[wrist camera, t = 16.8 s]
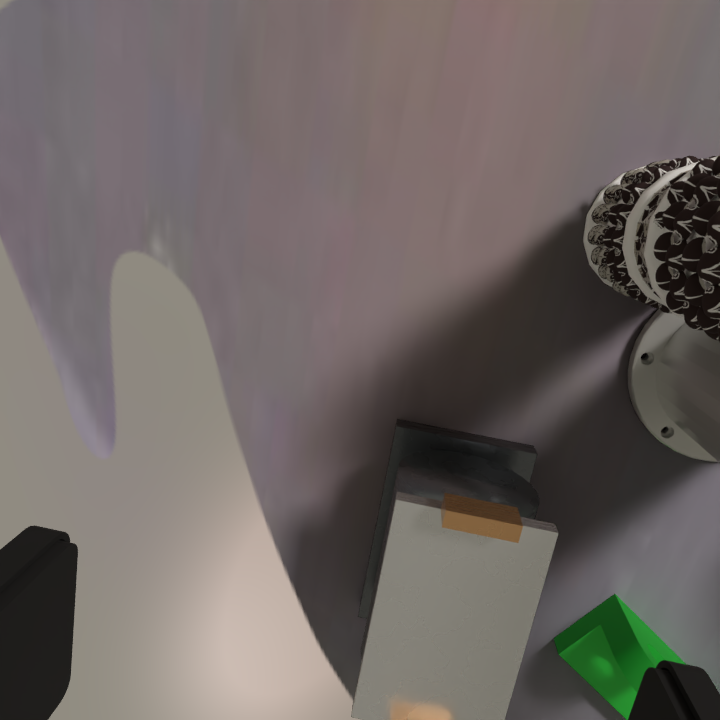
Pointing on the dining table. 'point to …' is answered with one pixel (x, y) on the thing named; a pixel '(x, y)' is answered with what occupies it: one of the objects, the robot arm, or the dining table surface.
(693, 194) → the decorative candle
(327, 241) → the dining table surface
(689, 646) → the dining table surface
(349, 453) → the dining table surface
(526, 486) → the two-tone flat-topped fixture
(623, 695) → the mechanical part
